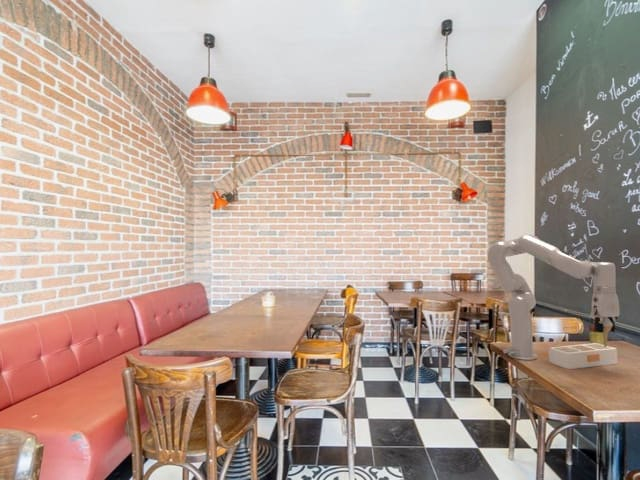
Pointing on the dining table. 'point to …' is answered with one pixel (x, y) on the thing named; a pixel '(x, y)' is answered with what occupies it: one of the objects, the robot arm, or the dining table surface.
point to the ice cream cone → (606, 329)
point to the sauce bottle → (595, 334)
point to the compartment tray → (582, 355)
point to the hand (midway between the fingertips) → (604, 331)
